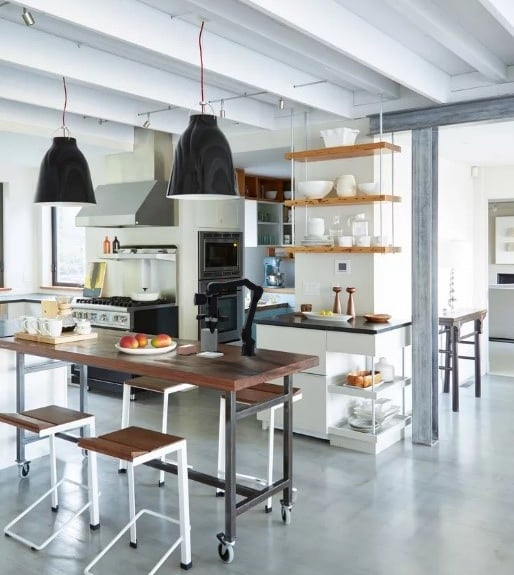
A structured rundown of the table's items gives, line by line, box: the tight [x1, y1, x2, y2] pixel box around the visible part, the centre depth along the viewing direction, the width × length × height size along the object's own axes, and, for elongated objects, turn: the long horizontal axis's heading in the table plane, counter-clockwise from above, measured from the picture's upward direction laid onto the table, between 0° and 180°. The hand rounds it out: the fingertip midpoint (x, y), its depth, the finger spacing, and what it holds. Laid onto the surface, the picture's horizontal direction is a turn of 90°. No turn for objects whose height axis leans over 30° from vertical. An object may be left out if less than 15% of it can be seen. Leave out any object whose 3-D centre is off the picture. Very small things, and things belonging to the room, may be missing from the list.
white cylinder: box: [200, 327, 218, 353], centre depth 371 cm, size 10×10×12 cm
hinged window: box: [196, 351, 224, 359], centre depth 353 cm, size 11×10×1 cm
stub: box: [177, 344, 197, 355], centre depth 361 cm, size 4×10×4 cm, turn 149°
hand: (212, 333), depth 351 cm, fingers closed
